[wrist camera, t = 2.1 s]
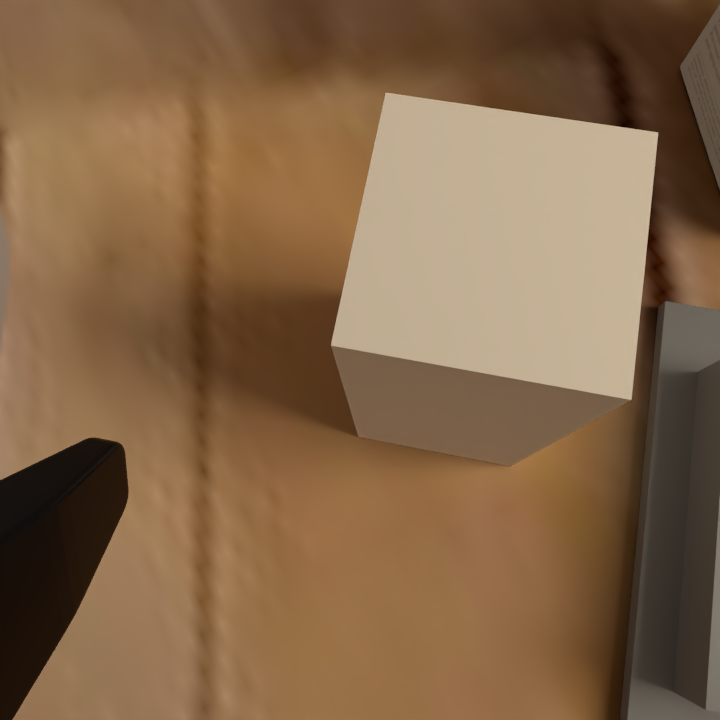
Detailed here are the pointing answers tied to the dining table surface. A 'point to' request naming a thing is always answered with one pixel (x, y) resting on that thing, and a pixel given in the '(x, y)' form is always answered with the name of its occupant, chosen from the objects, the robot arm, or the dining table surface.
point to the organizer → (678, 529)
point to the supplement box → (706, 87)
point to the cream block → (493, 278)
